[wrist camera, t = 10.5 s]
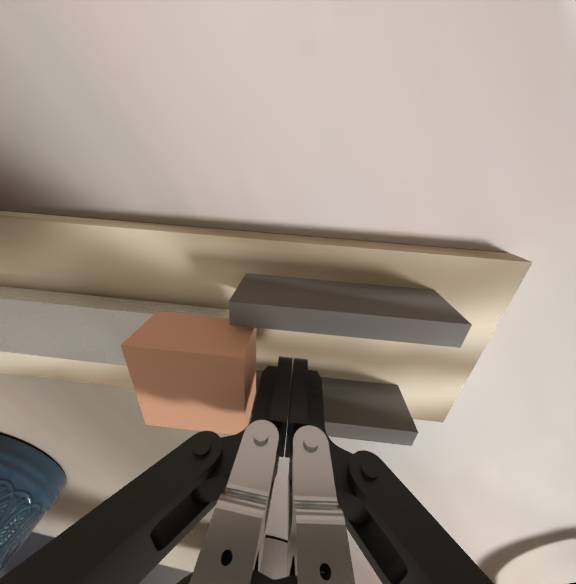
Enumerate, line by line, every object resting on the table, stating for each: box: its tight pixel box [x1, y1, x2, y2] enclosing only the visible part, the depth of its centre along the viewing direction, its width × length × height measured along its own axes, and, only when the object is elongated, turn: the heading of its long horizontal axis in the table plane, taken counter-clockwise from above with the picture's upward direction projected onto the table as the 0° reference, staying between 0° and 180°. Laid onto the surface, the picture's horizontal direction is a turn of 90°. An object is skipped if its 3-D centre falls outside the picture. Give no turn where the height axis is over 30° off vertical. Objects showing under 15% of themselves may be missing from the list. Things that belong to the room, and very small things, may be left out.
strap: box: [0, 286, 229, 366], centre depth 14 cm, size 4×21×1 cm, turn 86°
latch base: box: [0, 211, 532, 446], centre depth 14 cm, size 12×37×5 cm, turn 86°
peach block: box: [121, 311, 256, 435], centre depth 12 cm, size 5×5×3 cm
